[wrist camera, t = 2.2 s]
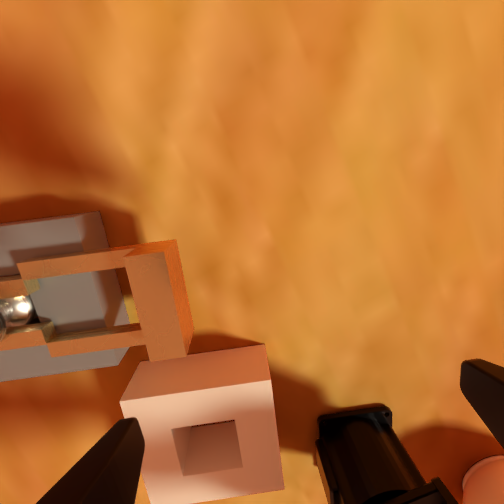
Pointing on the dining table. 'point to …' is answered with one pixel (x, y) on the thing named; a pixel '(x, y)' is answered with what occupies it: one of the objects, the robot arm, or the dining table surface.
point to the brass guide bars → (143, 290)
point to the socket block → (62, 293)
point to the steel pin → (15, 312)
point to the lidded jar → (485, 482)
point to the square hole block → (206, 426)
